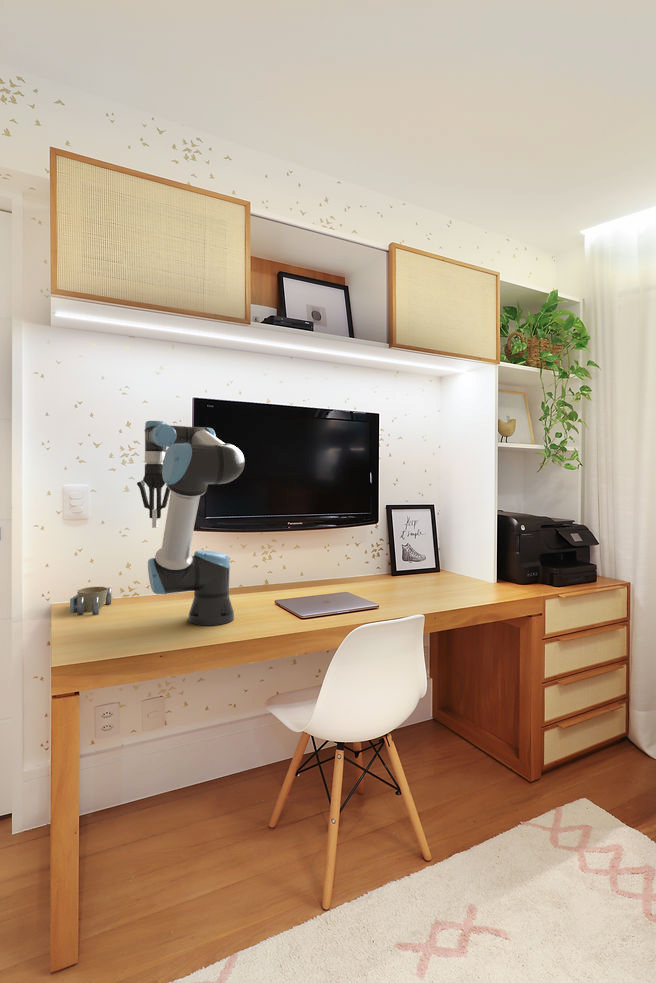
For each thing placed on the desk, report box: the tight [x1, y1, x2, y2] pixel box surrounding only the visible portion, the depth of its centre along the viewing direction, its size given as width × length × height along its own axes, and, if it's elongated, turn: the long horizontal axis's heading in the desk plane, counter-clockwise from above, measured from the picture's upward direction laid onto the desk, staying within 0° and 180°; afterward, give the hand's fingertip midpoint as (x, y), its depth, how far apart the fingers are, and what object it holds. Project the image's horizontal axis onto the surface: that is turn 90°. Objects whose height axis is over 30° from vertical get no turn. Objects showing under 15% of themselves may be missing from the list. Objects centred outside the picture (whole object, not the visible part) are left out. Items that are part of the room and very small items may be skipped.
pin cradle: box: [69, 587, 112, 616], centre depth 189 cm, size 10×16×6 cm, turn 6°
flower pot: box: [76, 586, 109, 612], centre depth 189 cm, size 10×10×7 cm
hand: (155, 527), depth 194 cm, fingers closed
